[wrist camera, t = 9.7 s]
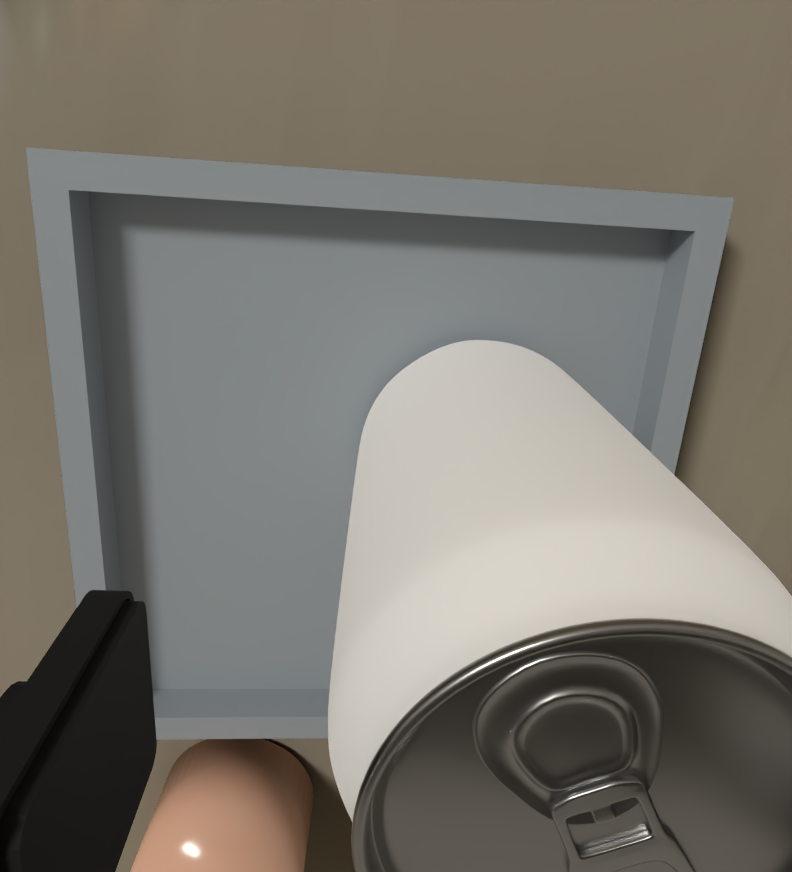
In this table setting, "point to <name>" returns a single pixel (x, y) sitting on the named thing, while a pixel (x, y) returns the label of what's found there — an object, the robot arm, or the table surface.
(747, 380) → the table surface
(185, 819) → the brown egg
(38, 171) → the tray
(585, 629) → the can
